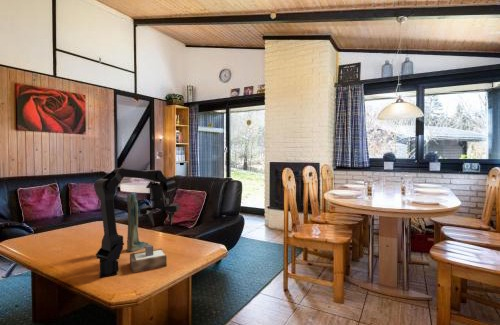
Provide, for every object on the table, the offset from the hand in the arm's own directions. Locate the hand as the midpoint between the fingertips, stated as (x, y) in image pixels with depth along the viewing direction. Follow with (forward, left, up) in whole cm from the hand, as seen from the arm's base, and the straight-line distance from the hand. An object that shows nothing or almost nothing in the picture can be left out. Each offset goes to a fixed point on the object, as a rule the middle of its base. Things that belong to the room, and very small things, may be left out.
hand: (162, 225), depth 143 cm
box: (-9, -12, -14) cm, 21 cm away
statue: (-11, +16, -15) cm, 24 cm away
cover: (-8, -12, -11) cm, 18 cm away
